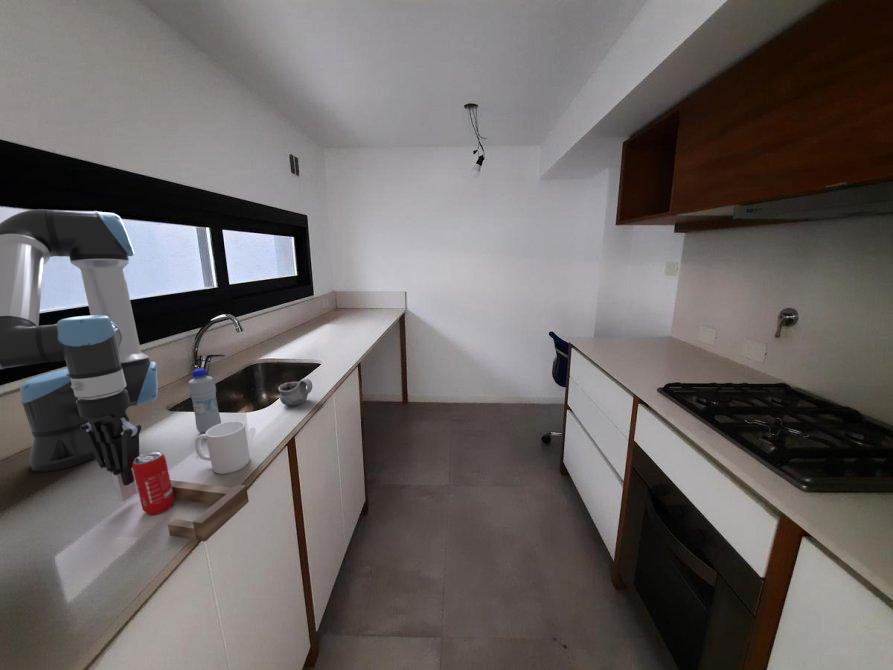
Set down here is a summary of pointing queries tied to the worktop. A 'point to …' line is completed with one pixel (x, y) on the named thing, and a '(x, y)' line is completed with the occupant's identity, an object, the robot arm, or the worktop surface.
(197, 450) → the cup
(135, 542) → the worktop surface
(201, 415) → the bottle
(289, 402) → the mug
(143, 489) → the beverage can
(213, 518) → the hook tool
